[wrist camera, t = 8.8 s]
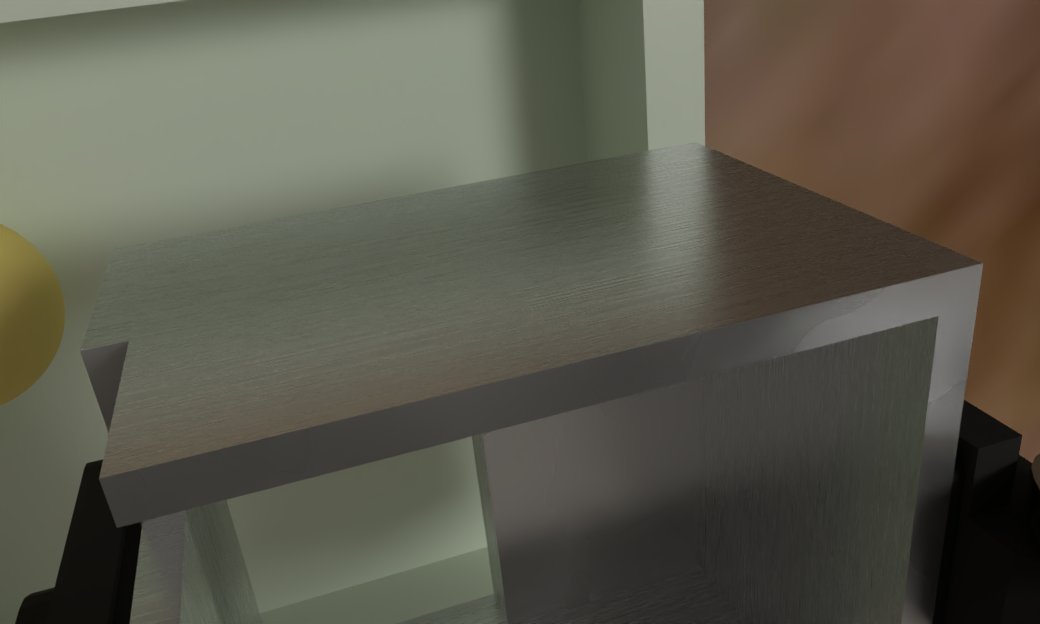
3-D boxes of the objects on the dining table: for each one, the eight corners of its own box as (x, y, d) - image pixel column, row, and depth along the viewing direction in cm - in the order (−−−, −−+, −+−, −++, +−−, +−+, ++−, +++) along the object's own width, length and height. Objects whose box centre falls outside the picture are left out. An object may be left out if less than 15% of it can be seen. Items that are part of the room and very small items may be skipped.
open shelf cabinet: (113, 248, 10) (31, 494, 6) (695, 142, 12) (983, 263, 7) (252, 688, 13) (271, 1076, 8) (699, 549, 15) (905, 810, 10)
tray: (-418, -20, 12) (-644, -8, 9) (605, -123, 15) (702, -140, 12) (-38, 713, 18) (-92, 876, 14) (637, 513, 21) (708, 609, 18)
